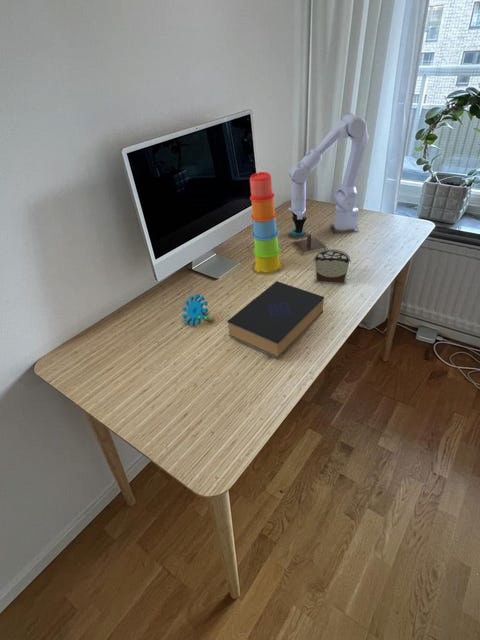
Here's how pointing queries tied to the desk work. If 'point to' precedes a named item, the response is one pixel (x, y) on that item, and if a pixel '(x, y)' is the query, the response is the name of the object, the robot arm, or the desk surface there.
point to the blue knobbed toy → (195, 310)
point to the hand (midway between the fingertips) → (298, 228)
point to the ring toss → (309, 244)
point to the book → (276, 318)
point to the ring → (293, 233)
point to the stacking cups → (264, 223)
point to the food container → (331, 266)
